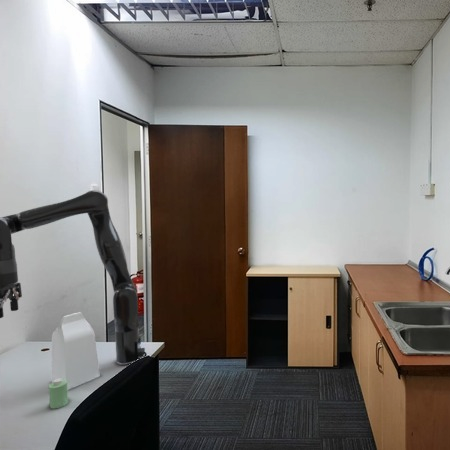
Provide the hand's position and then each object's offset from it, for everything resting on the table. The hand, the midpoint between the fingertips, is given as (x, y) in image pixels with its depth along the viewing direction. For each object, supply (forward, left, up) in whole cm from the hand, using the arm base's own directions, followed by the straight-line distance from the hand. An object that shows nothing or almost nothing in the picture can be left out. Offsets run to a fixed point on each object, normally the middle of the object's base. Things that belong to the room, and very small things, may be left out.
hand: (7, 314), depth 125 cm
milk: (-22, +1, -28) cm, 35 cm away
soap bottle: (-23, +18, -28) cm, 40 cm away
